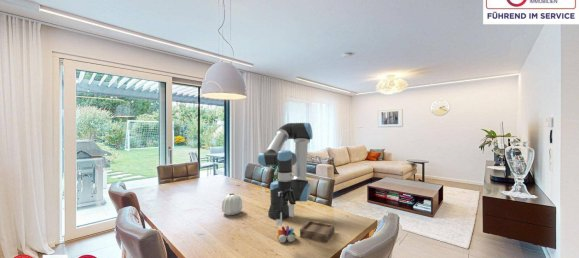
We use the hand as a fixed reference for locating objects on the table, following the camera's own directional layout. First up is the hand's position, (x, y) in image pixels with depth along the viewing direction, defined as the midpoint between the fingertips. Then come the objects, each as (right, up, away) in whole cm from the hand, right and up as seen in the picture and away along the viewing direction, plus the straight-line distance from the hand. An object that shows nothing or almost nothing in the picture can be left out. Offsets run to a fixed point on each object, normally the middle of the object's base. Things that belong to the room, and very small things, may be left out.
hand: (285, 220), depth 123 cm
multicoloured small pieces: (0, -10, 0) cm, 10 cm away
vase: (-38, -11, +40) cm, 56 cm away
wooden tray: (+17, -10, +5) cm, 21 cm away
